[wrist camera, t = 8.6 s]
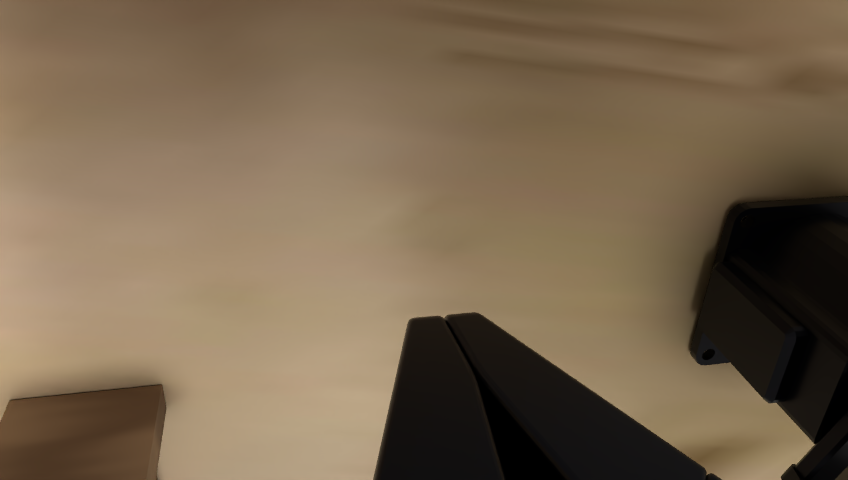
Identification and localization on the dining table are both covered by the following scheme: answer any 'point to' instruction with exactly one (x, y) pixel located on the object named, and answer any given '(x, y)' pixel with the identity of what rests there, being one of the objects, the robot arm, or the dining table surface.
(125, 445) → the tray
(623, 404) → the dining table surface
